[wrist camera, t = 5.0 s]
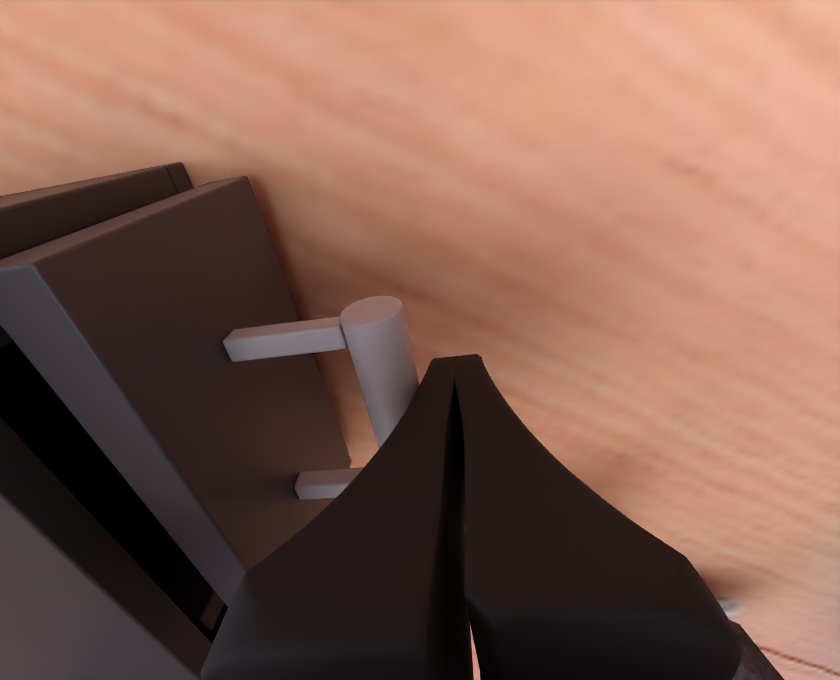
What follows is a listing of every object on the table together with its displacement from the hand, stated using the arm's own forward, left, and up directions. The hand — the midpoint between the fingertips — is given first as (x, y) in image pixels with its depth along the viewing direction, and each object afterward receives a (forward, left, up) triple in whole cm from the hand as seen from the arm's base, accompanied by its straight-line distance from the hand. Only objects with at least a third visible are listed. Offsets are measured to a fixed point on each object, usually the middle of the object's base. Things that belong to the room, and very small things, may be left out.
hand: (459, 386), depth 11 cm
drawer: (0, +9, -3) cm, 10 cm away
